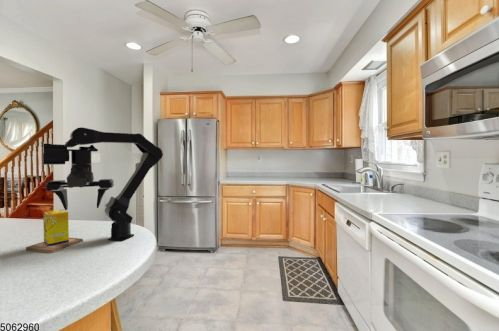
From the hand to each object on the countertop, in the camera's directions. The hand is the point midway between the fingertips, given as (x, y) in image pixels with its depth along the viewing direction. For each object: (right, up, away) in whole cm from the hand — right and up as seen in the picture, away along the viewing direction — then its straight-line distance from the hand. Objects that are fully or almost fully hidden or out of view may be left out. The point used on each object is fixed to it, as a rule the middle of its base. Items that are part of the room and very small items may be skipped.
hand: (82, 208), depth 83 cm
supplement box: (-9, -12, 0) cm, 15 cm away
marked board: (-10, -13, 0) cm, 16 cm away
